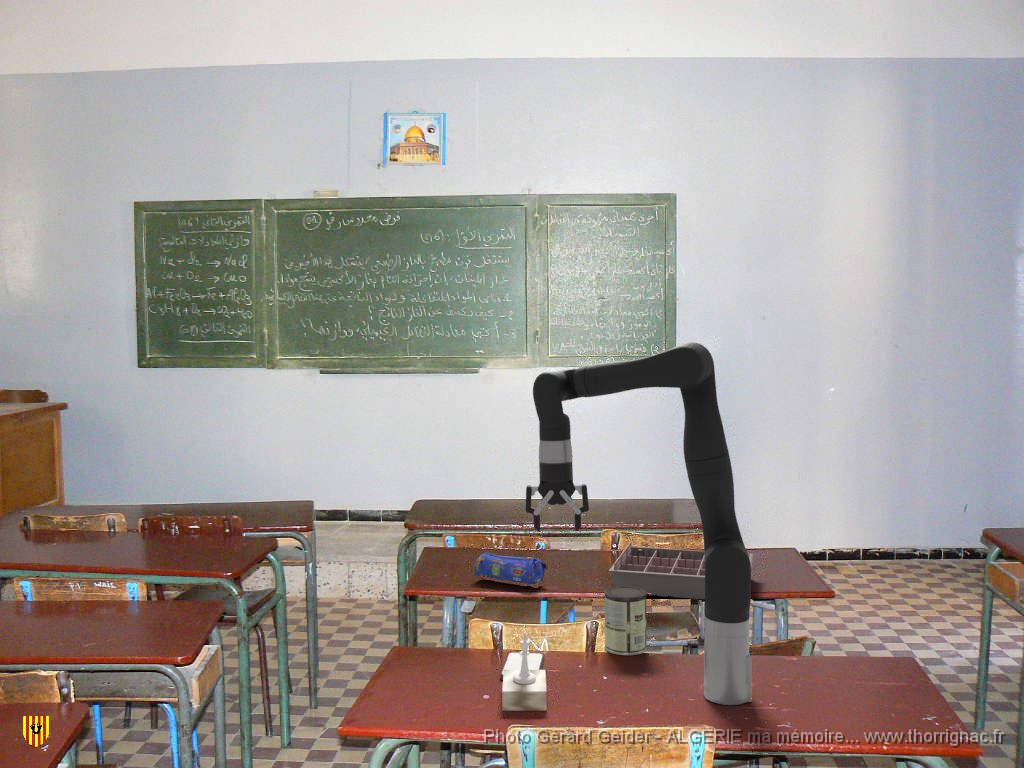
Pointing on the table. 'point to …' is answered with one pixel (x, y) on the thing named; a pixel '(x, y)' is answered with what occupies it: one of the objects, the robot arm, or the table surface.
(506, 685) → the birch stand
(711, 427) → the robot arm
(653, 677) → the table surface
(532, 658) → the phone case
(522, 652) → the chess piece
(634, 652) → the coffee can
